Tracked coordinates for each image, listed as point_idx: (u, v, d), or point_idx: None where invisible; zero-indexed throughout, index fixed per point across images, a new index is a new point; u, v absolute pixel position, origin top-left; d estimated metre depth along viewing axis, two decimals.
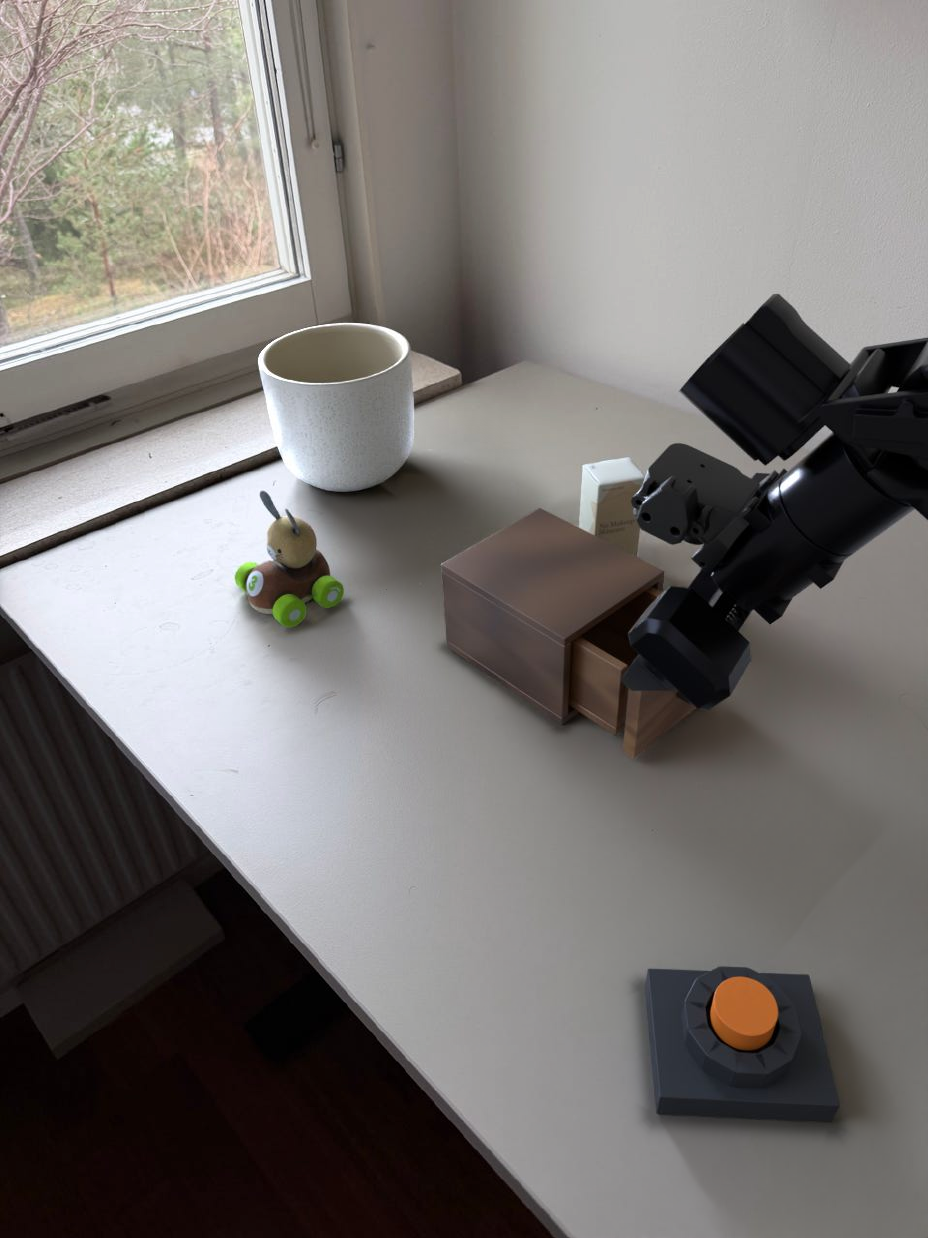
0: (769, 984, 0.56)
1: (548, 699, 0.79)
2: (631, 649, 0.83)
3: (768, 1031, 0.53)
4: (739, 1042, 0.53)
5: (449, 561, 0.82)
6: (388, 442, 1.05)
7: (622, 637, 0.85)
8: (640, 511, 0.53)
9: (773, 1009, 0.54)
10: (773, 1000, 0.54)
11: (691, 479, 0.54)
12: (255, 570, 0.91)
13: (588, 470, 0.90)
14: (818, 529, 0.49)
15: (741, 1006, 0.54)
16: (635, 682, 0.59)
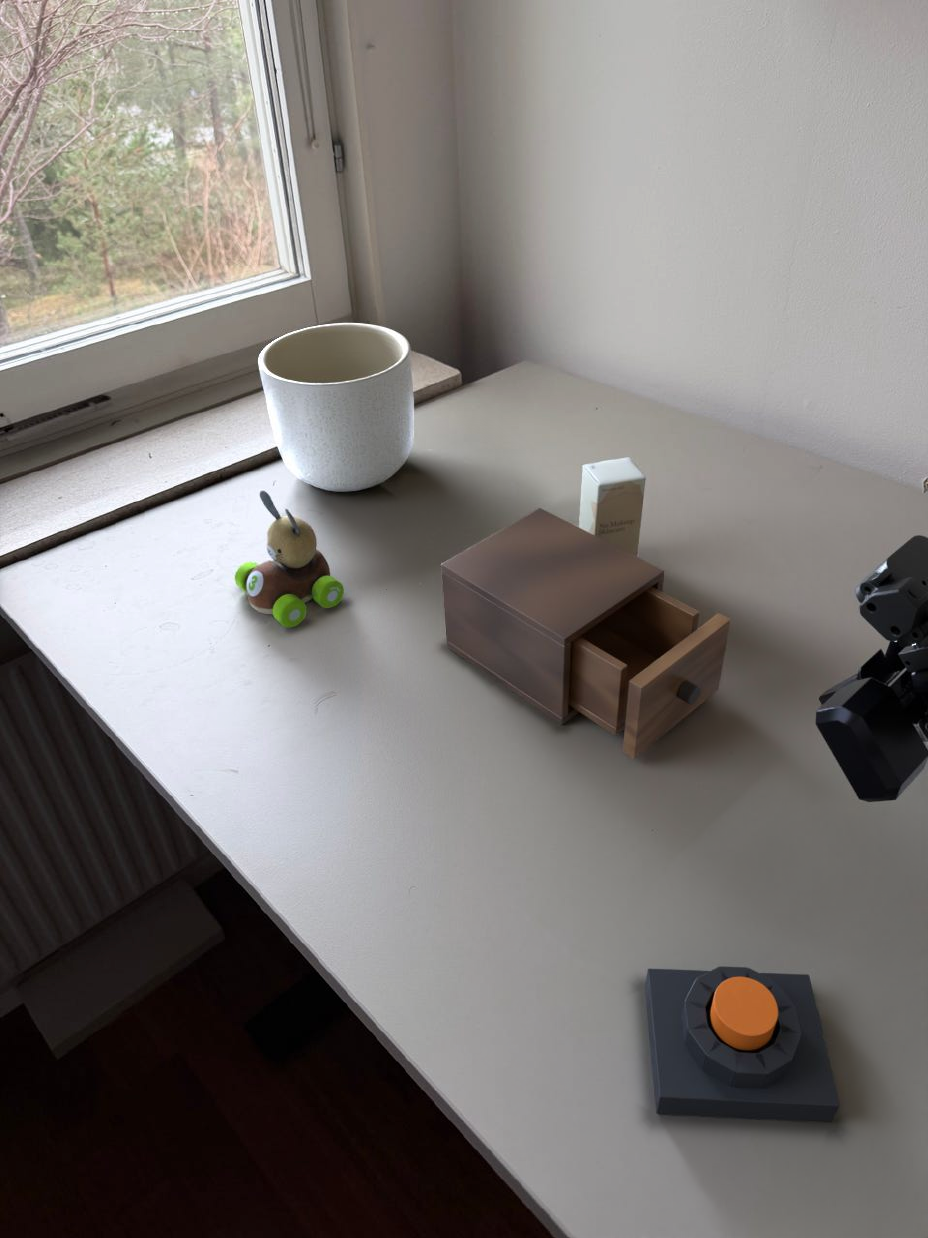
0: (769, 984, 0.56)
1: (548, 699, 0.79)
2: (631, 649, 0.83)
3: (768, 1031, 0.53)
4: (739, 1042, 0.53)
5: (449, 561, 0.82)
6: (388, 442, 1.05)
7: (622, 637, 0.85)
8: (867, 600, 0.53)
9: (773, 1009, 0.54)
10: (773, 1000, 0.54)
11: (926, 581, 0.54)
12: (255, 570, 0.91)
13: (588, 470, 0.90)
14: None
15: (741, 1006, 0.54)
16: None
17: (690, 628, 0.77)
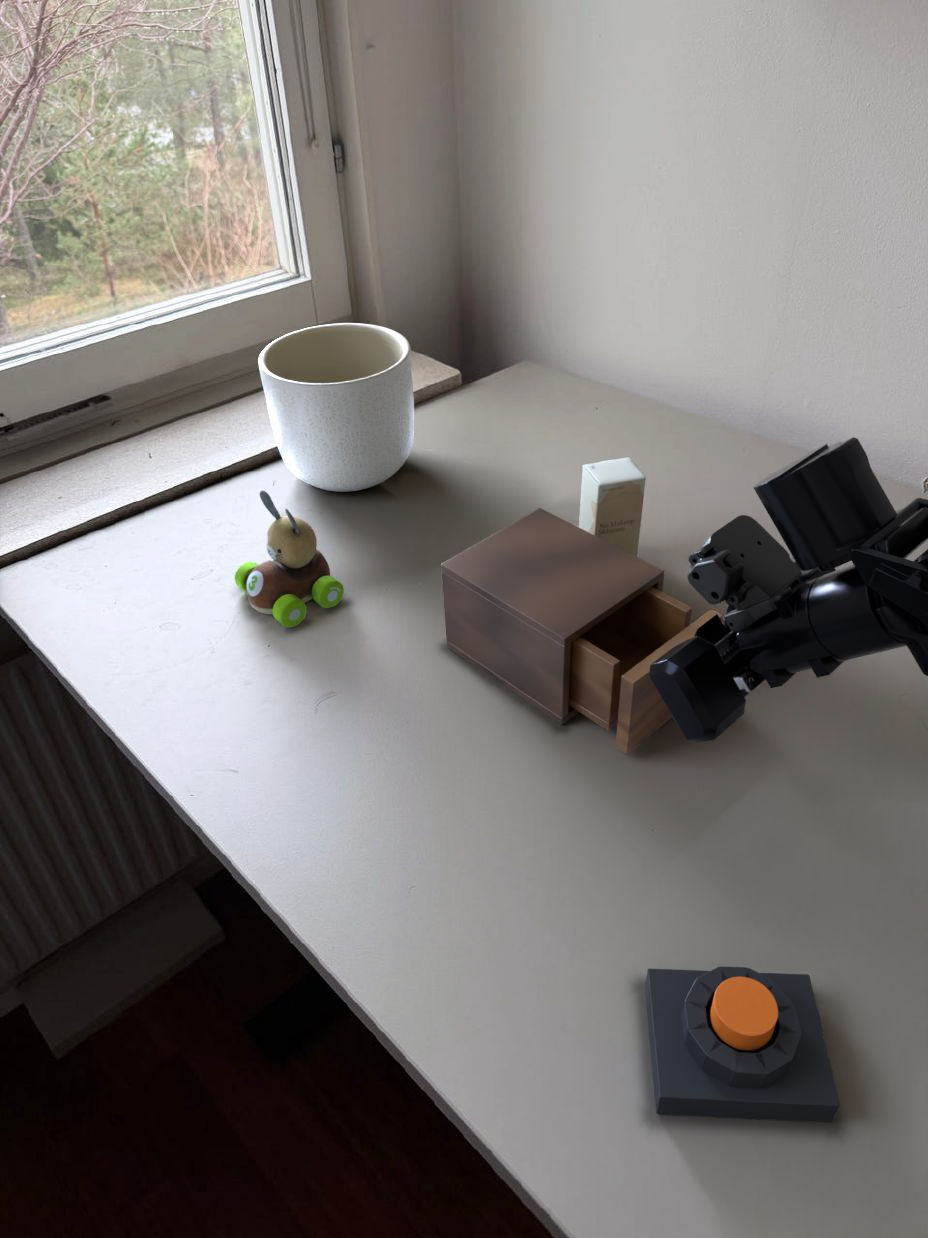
0: (769, 984, 0.56)
1: (548, 699, 0.79)
2: (625, 645, 0.84)
3: (768, 1031, 0.53)
4: (739, 1042, 0.53)
5: (449, 561, 0.82)
6: (388, 442, 1.05)
7: (616, 633, 0.85)
8: (692, 570, 0.62)
9: (773, 1009, 0.54)
10: (773, 1000, 0.54)
11: (744, 553, 0.63)
12: (255, 570, 0.91)
13: (588, 470, 0.90)
14: (827, 635, 0.58)
15: (741, 1006, 0.54)
16: None
17: (683, 624, 0.78)
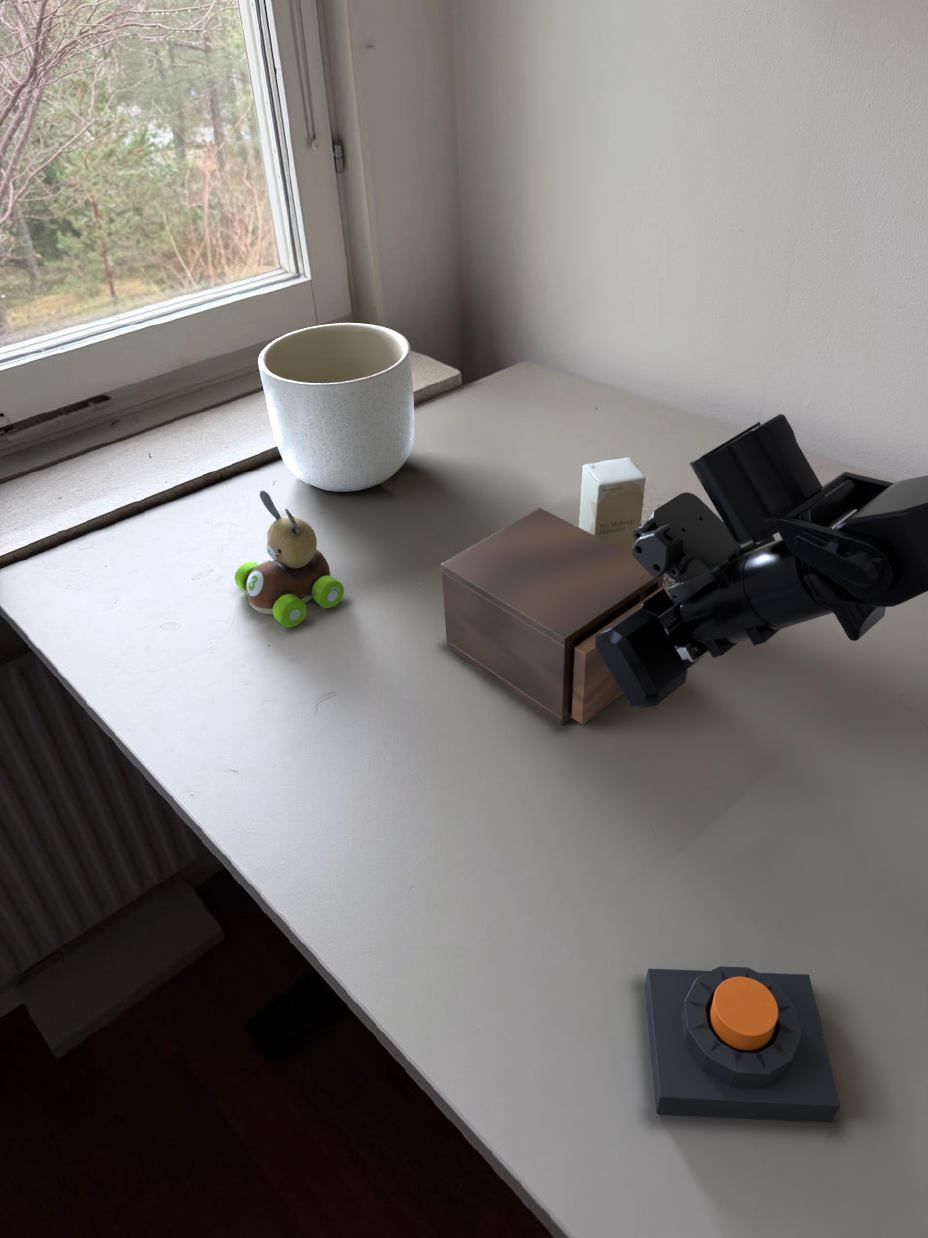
0: (769, 984, 0.56)
1: (548, 699, 0.79)
2: None
3: (768, 1031, 0.53)
4: (739, 1042, 0.53)
5: (449, 561, 0.82)
6: (388, 442, 1.05)
7: None
8: (635, 544, 0.65)
9: (773, 1009, 0.54)
10: (773, 1000, 0.54)
11: (686, 528, 0.66)
12: (255, 570, 0.91)
13: (588, 470, 0.90)
14: (760, 603, 0.61)
15: (741, 1006, 0.54)
16: None
17: (638, 600, 0.81)
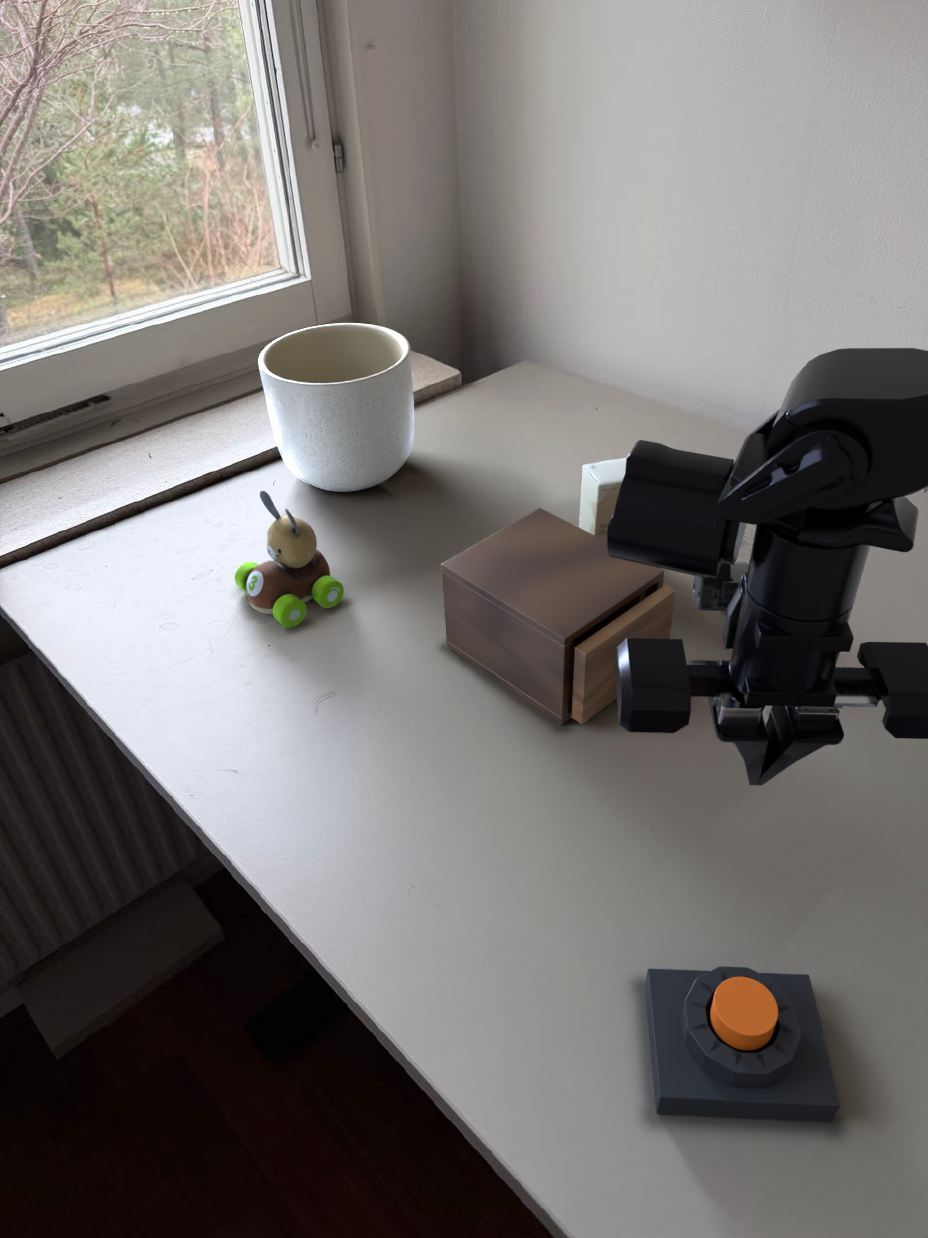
0: (769, 984, 0.56)
1: (548, 699, 0.79)
2: None
3: (768, 1031, 0.53)
4: (739, 1042, 0.53)
5: (449, 561, 0.82)
6: (388, 442, 1.05)
7: None
8: (693, 582, 0.60)
9: (773, 1009, 0.54)
10: (773, 1000, 0.54)
11: None
12: (255, 570, 0.91)
13: (588, 470, 0.90)
14: (795, 607, 0.48)
15: (741, 1006, 0.54)
16: None
17: (638, 600, 0.81)
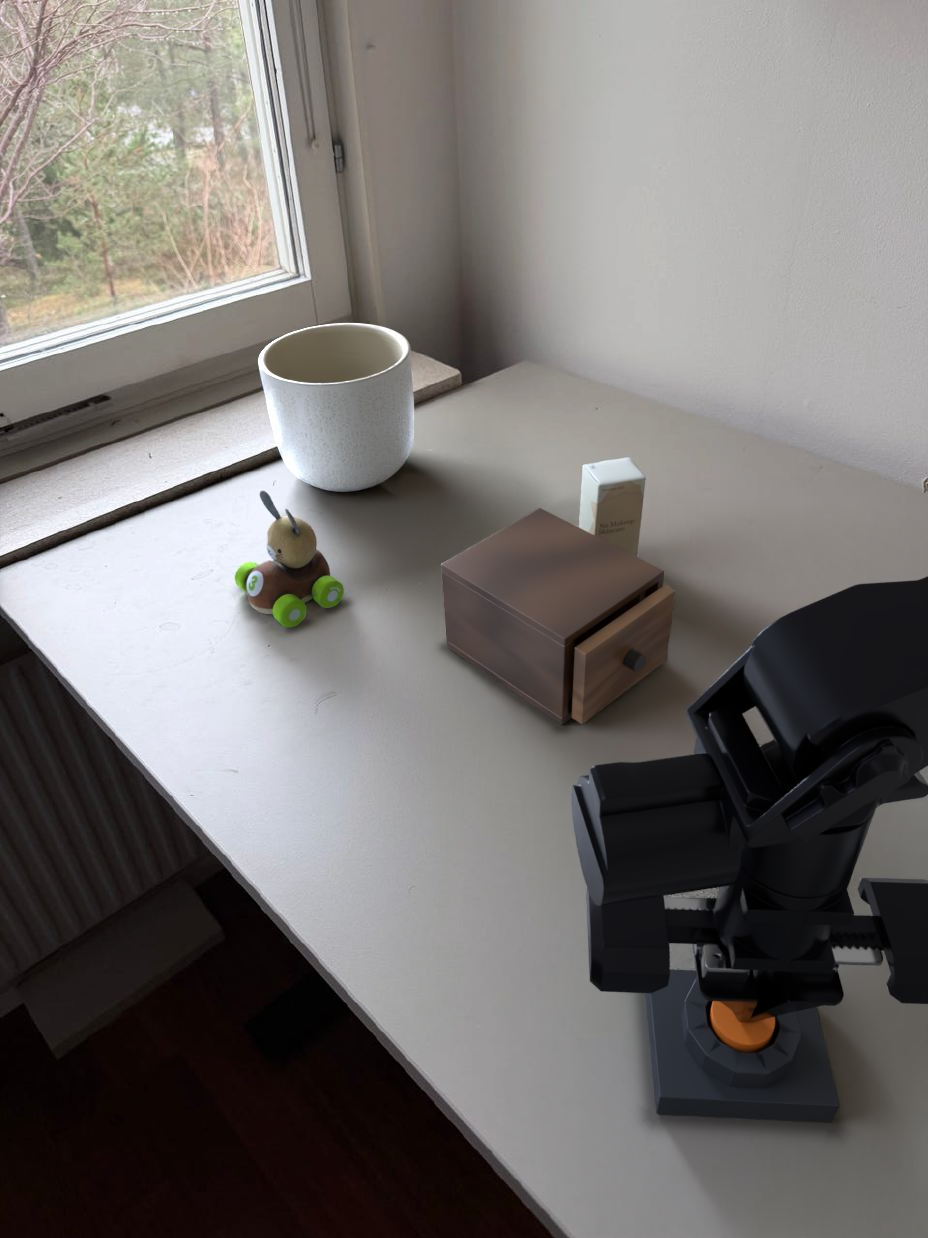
0: None
1: (548, 699, 0.79)
2: None
3: (765, 1040, 0.53)
4: (737, 1051, 0.54)
5: (449, 561, 0.82)
6: (388, 442, 1.05)
7: None
8: None
9: (770, 1018, 0.54)
10: None
11: None
12: (255, 570, 0.91)
13: (588, 470, 0.90)
14: (824, 886, 0.42)
15: None
16: None
17: (638, 600, 0.81)
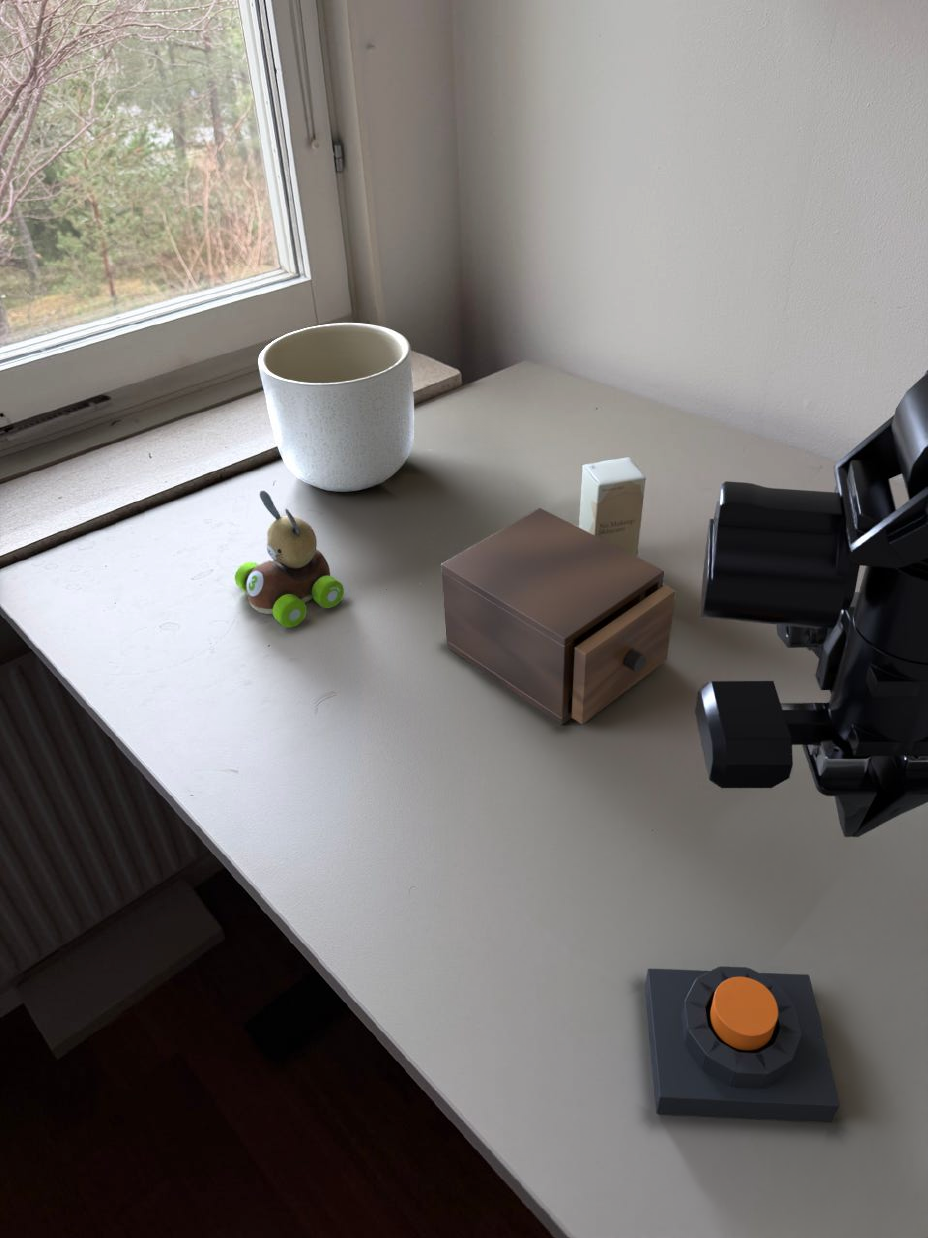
0: (769, 984, 0.56)
1: (548, 699, 0.79)
2: None
3: (768, 1031, 0.53)
4: (739, 1042, 0.53)
5: (449, 561, 0.82)
6: (388, 442, 1.05)
7: None
8: None
9: (773, 1009, 0.54)
10: (773, 1000, 0.54)
11: None
12: (255, 570, 0.91)
13: (588, 470, 0.90)
14: None
15: (741, 1006, 0.54)
16: (840, 819, 0.54)
17: (638, 600, 0.81)
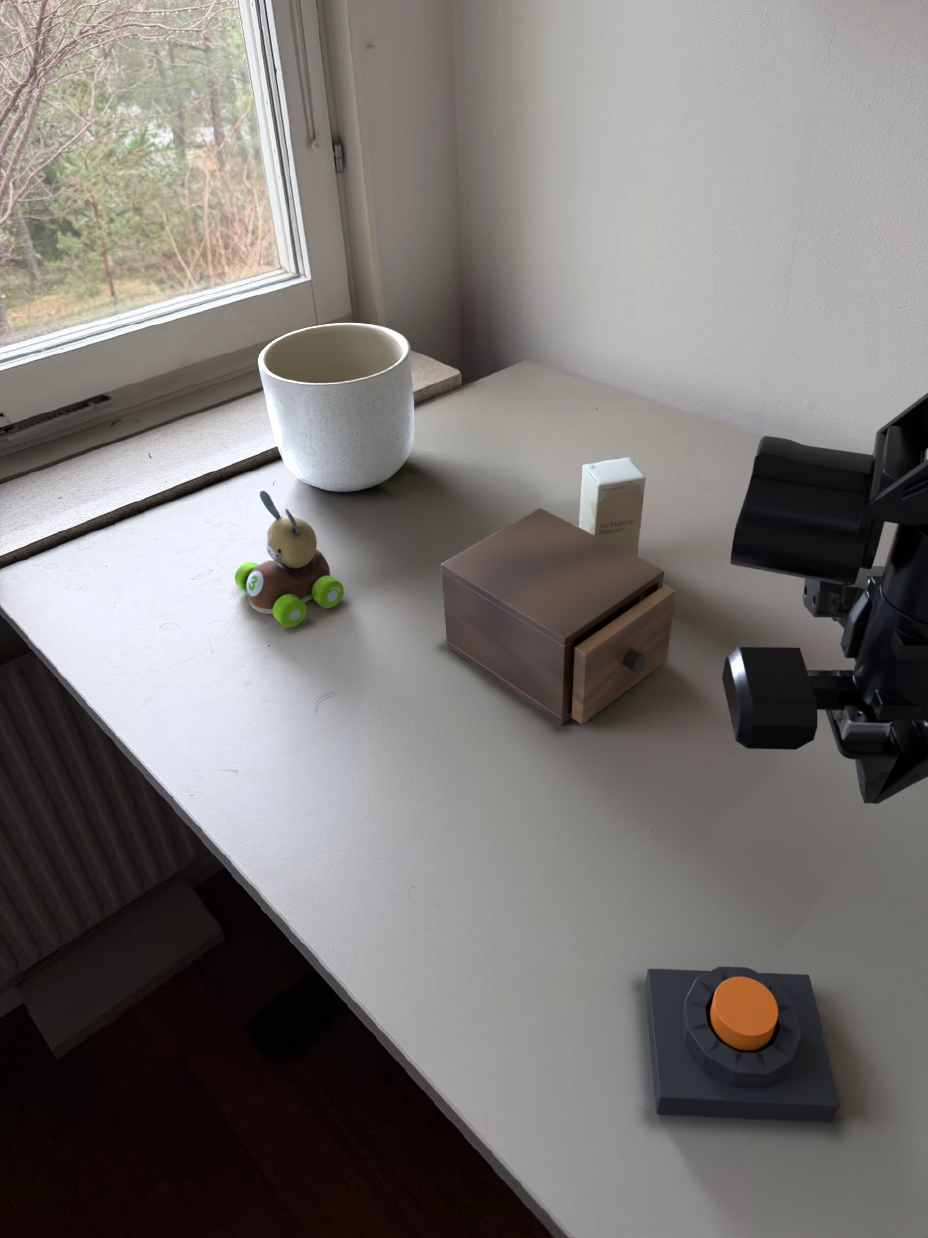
0: (769, 984, 0.56)
1: (548, 699, 0.79)
2: None
3: (768, 1031, 0.53)
4: (739, 1042, 0.53)
5: (449, 561, 0.82)
6: (388, 442, 1.05)
7: None
8: (804, 586, 0.56)
9: (773, 1009, 0.54)
10: (773, 1000, 0.54)
11: None
12: (255, 570, 0.91)
13: (588, 470, 0.90)
14: None
15: (741, 1006, 0.54)
16: (861, 786, 0.56)
17: (638, 600, 0.81)
